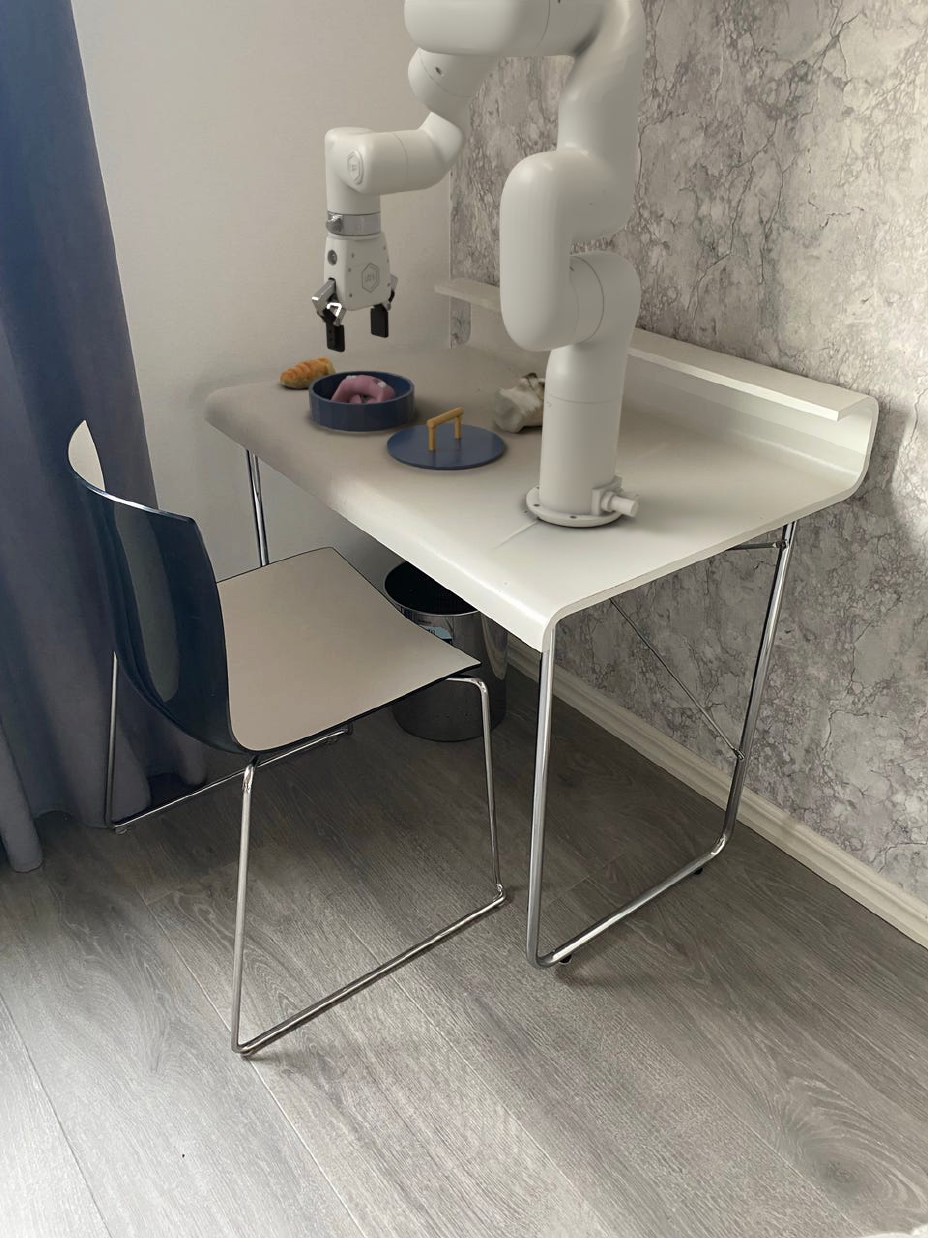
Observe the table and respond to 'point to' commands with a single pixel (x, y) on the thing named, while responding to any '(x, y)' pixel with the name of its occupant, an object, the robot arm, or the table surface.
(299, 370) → the pastry
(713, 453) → the table surface
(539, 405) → the ceramic sculpture
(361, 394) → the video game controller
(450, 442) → the lid
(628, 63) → the robot arm
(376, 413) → the tin
